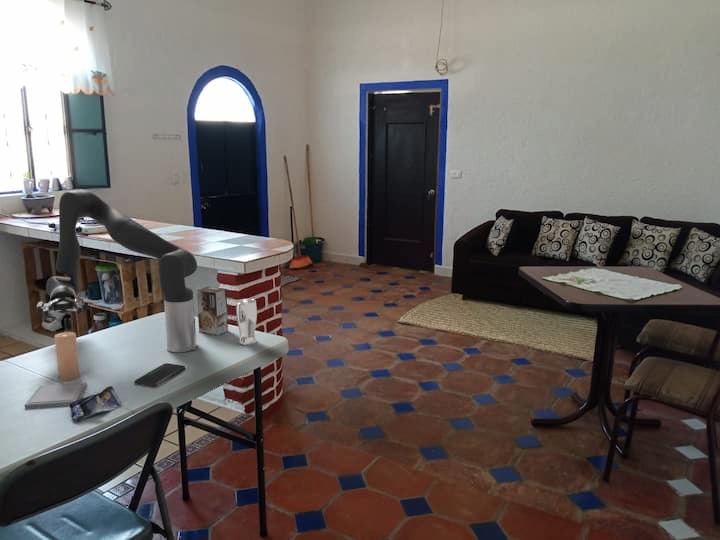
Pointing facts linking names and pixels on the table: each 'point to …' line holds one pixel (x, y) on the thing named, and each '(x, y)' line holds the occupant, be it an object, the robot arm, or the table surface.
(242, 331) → the beer glass
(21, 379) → the table surface
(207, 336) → the table surface
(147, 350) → the table surface
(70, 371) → the peach tall cylinder
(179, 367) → the phone
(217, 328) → the coffee box
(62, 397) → the coaster
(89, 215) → the robot arm
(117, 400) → the snack package
